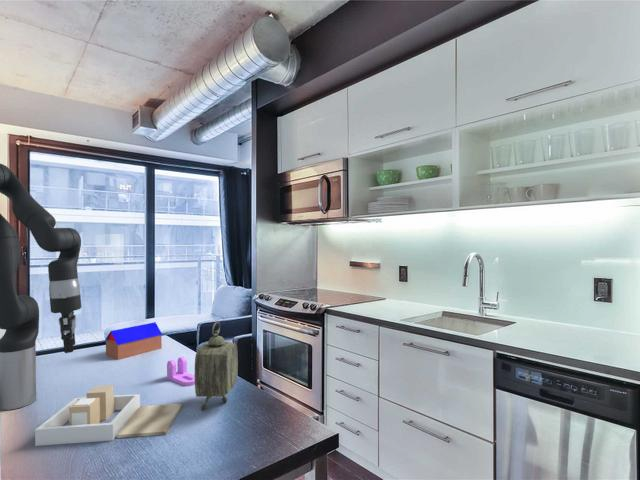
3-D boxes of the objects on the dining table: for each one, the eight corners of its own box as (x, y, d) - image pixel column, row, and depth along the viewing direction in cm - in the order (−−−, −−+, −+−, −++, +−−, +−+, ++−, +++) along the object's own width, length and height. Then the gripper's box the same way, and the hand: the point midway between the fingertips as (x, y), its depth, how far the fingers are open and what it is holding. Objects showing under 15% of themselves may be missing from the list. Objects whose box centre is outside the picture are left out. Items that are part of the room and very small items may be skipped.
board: (116, 438, 92) (116, 434, 92) (140, 408, 108) (140, 406, 108) (165, 434, 94) (165, 431, 94) (182, 406, 110) (182, 403, 110)
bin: (35, 445, 89) (35, 429, 89) (75, 411, 107) (75, 397, 107) (112, 440, 91) (112, 424, 91) (139, 407, 109) (139, 394, 109)
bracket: (167, 379, 131) (166, 359, 131) (181, 374, 136) (180, 355, 136) (187, 387, 124) (187, 367, 124) (201, 382, 128) (201, 362, 128)
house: (104, 355, 159) (104, 329, 159) (149, 344, 175) (148, 320, 175) (117, 360, 152) (117, 333, 152) (162, 348, 168) (162, 323, 168)
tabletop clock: (211, 392, 119) (210, 316, 119) (238, 392, 119) (238, 316, 119) (194, 413, 105) (193, 327, 105) (226, 414, 104) (225, 327, 104)
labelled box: (69, 439, 92) (68, 406, 92) (80, 428, 97) (79, 397, 97) (90, 437, 93) (89, 405, 93) (99, 427, 98) (99, 396, 98)
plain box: (86, 421, 101) (86, 393, 101) (95, 413, 106) (95, 385, 106) (106, 420, 101) (105, 392, 101) (114, 412, 106) (113, 384, 106)
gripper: (52, 294, 112) (57, 346, 112) (46, 299, 100) (51, 358, 100) (81, 290, 116) (85, 340, 116) (79, 295, 104) (84, 351, 104)
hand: (70, 348), depth 108 cm, fingers open, 8 cm apart
